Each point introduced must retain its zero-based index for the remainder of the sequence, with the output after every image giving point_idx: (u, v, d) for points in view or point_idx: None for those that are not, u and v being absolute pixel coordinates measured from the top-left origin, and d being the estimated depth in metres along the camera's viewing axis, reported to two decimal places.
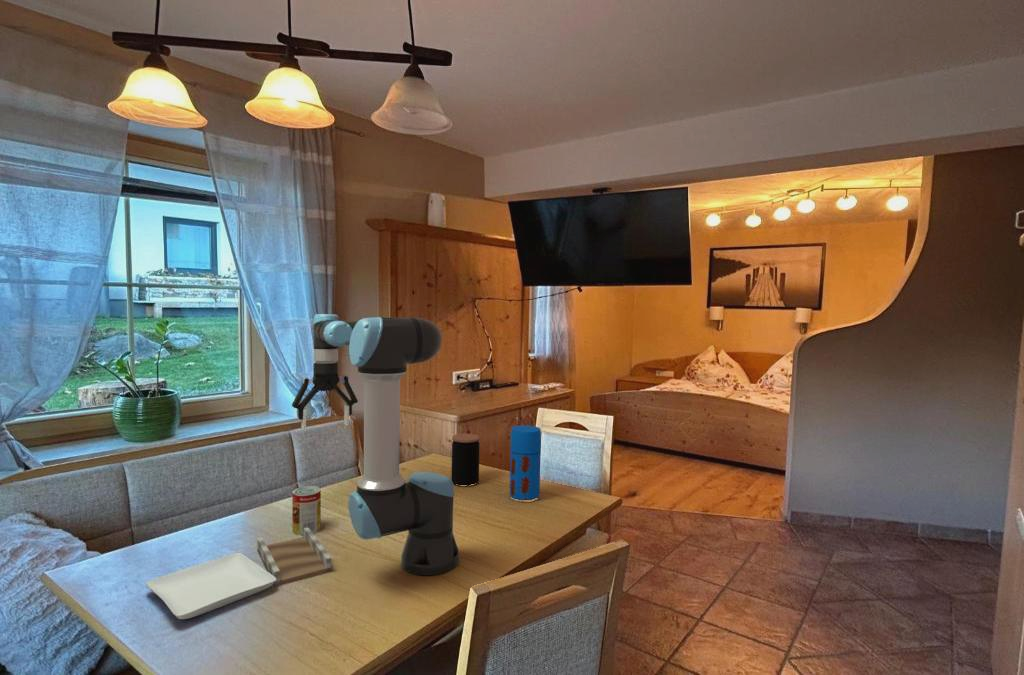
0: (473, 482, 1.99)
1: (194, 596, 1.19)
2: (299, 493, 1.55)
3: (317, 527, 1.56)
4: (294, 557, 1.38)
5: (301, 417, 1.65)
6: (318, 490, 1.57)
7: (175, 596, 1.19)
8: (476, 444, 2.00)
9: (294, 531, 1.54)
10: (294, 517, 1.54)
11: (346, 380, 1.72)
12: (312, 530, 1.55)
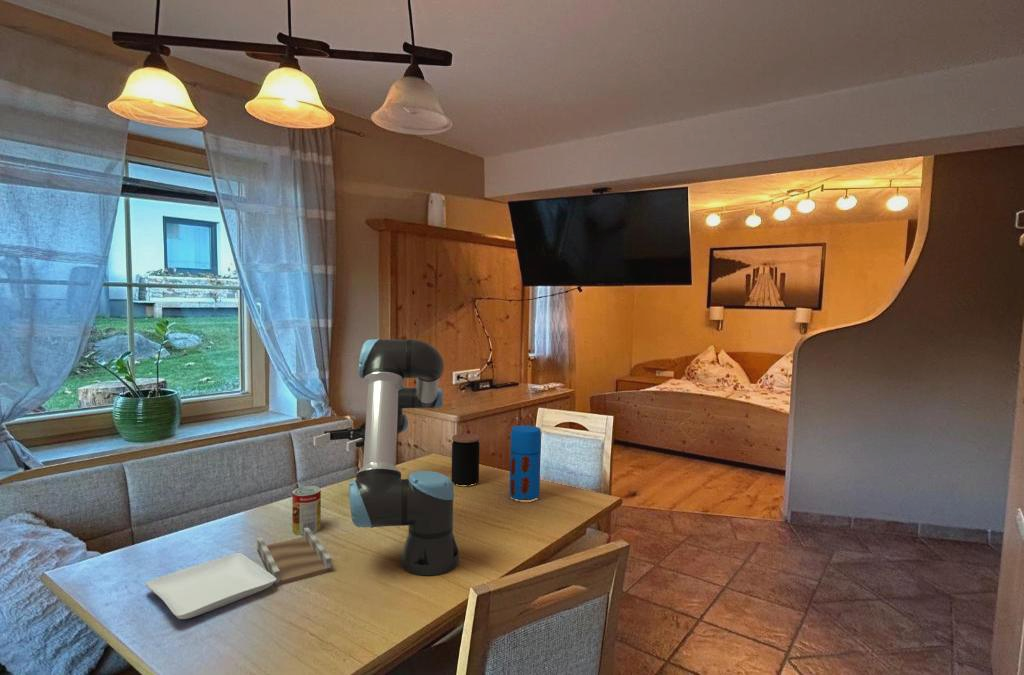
0: (473, 482, 1.99)
1: (194, 596, 1.19)
2: (299, 493, 1.55)
3: (317, 527, 1.56)
4: (294, 557, 1.38)
5: None
6: (318, 490, 1.57)
7: (175, 596, 1.19)
8: (476, 444, 2.00)
9: (294, 531, 1.54)
10: (294, 517, 1.54)
11: None
12: (312, 530, 1.55)
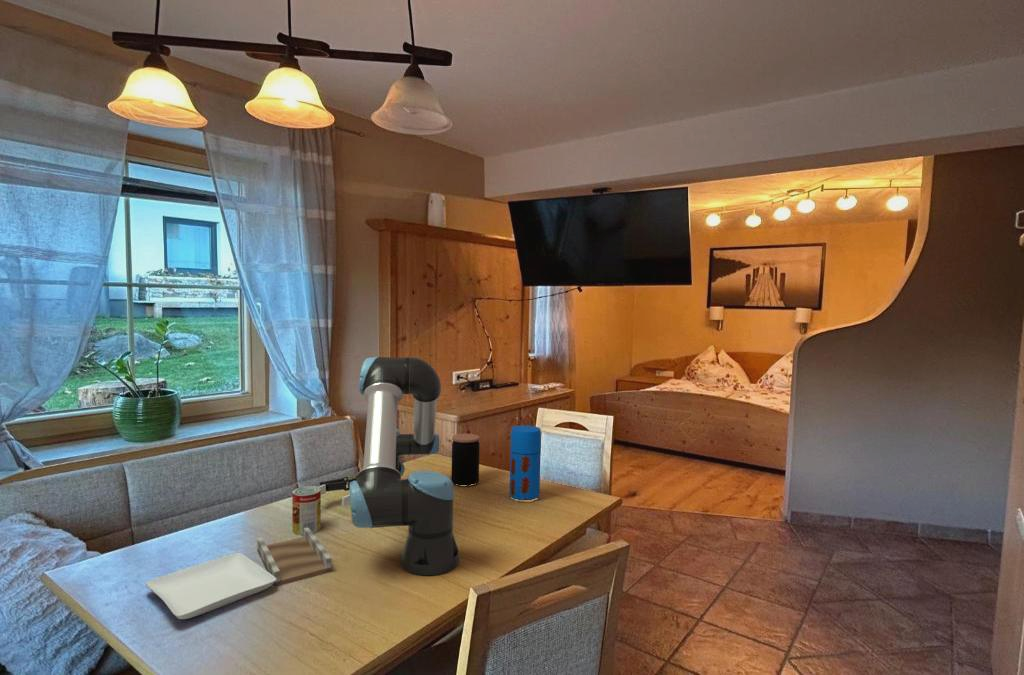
0: (473, 482, 1.99)
1: (194, 596, 1.19)
2: (299, 493, 1.55)
3: (317, 527, 1.56)
4: (294, 557, 1.38)
5: None
6: (318, 490, 1.57)
7: (175, 596, 1.19)
8: (476, 444, 2.00)
9: (294, 531, 1.54)
10: (294, 517, 1.54)
11: None
12: (312, 530, 1.55)
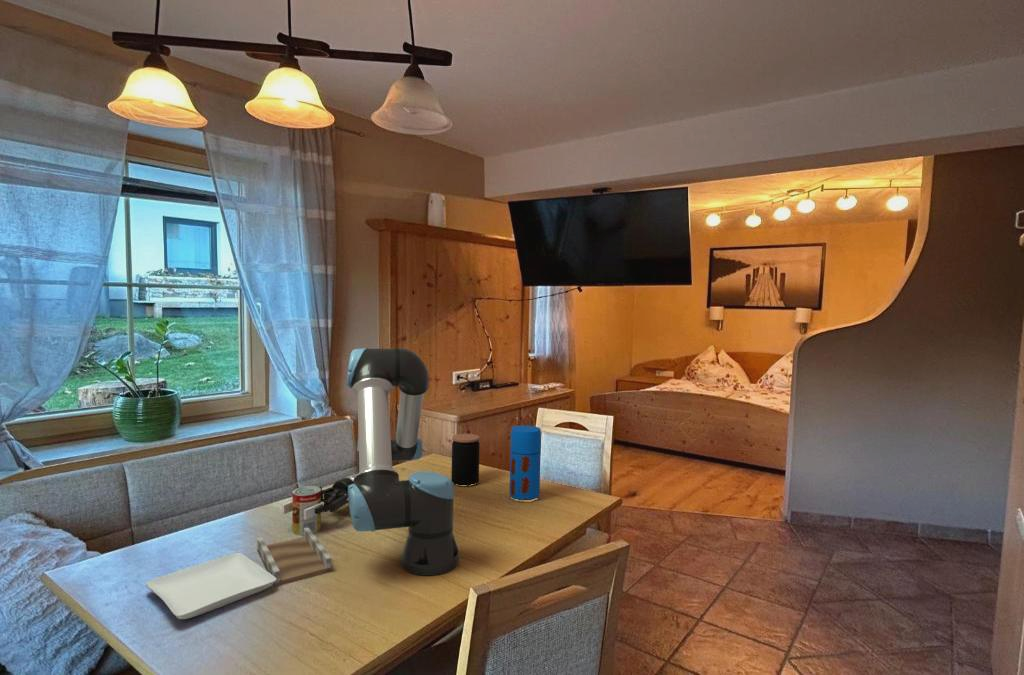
0: (473, 482, 1.99)
1: (194, 596, 1.19)
2: (299, 493, 1.55)
3: (317, 527, 1.56)
4: (294, 557, 1.38)
5: None
6: (318, 490, 1.57)
7: (175, 596, 1.19)
8: (476, 444, 2.00)
9: (294, 531, 1.54)
10: (294, 517, 1.54)
11: (347, 494, 1.64)
12: (312, 530, 1.55)
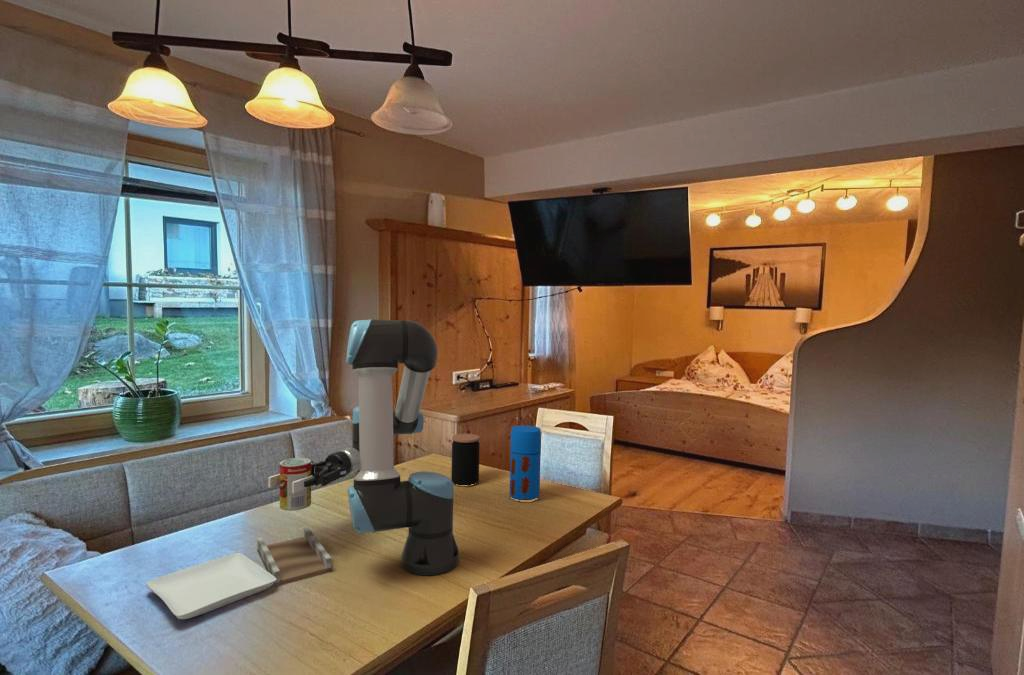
0: (473, 482, 1.99)
1: (194, 596, 1.19)
2: (287, 464, 1.40)
3: (307, 502, 1.41)
4: (294, 557, 1.38)
5: None
6: (308, 462, 1.42)
7: (175, 596, 1.19)
8: (476, 444, 2.00)
9: (281, 506, 1.39)
10: (281, 491, 1.39)
11: (341, 468, 1.49)
12: (301, 505, 1.39)
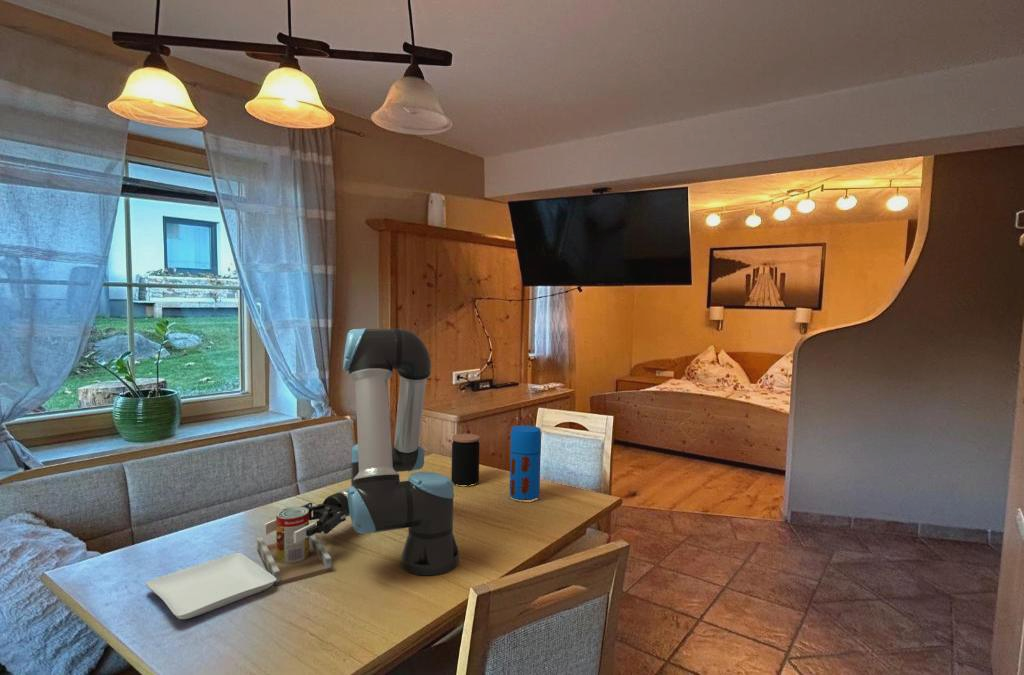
0: (473, 482, 1.99)
1: (194, 596, 1.19)
2: (284, 515, 1.36)
3: (305, 554, 1.37)
4: None
5: None
6: (306, 512, 1.38)
7: (175, 596, 1.19)
8: (476, 444, 2.00)
9: (278, 559, 1.35)
10: (278, 543, 1.35)
11: (341, 512, 1.45)
12: (299, 558, 1.35)
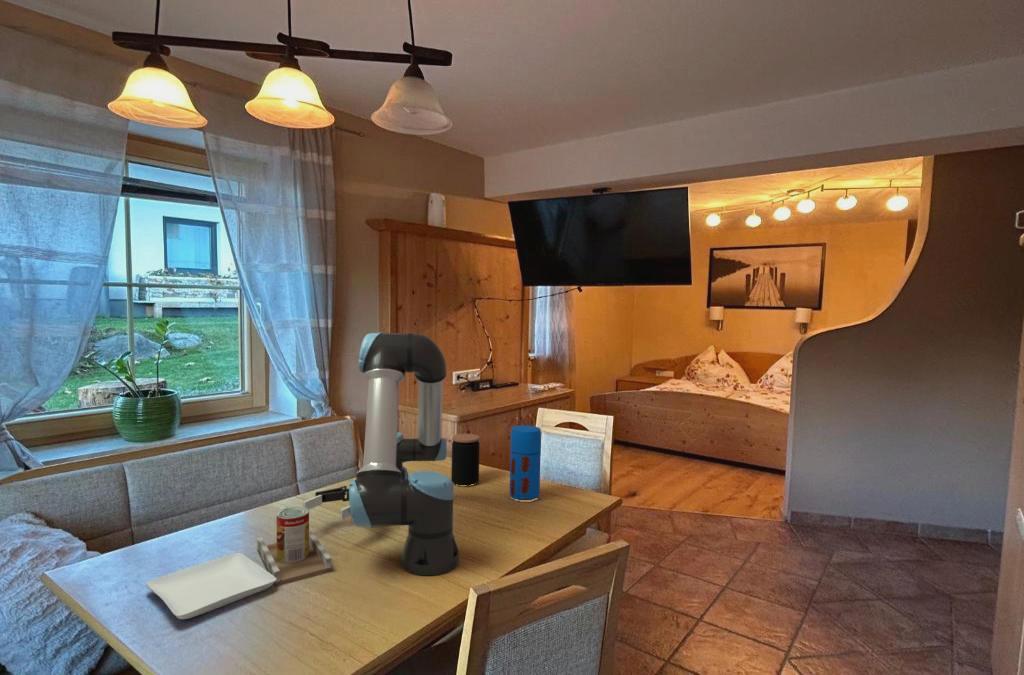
0: (473, 482, 1.99)
1: (194, 596, 1.19)
2: (284, 515, 1.36)
3: (305, 554, 1.37)
4: None
5: None
6: (306, 512, 1.38)
7: (175, 596, 1.19)
8: (476, 444, 2.00)
9: (278, 559, 1.35)
10: (278, 543, 1.35)
11: None
12: (299, 558, 1.35)
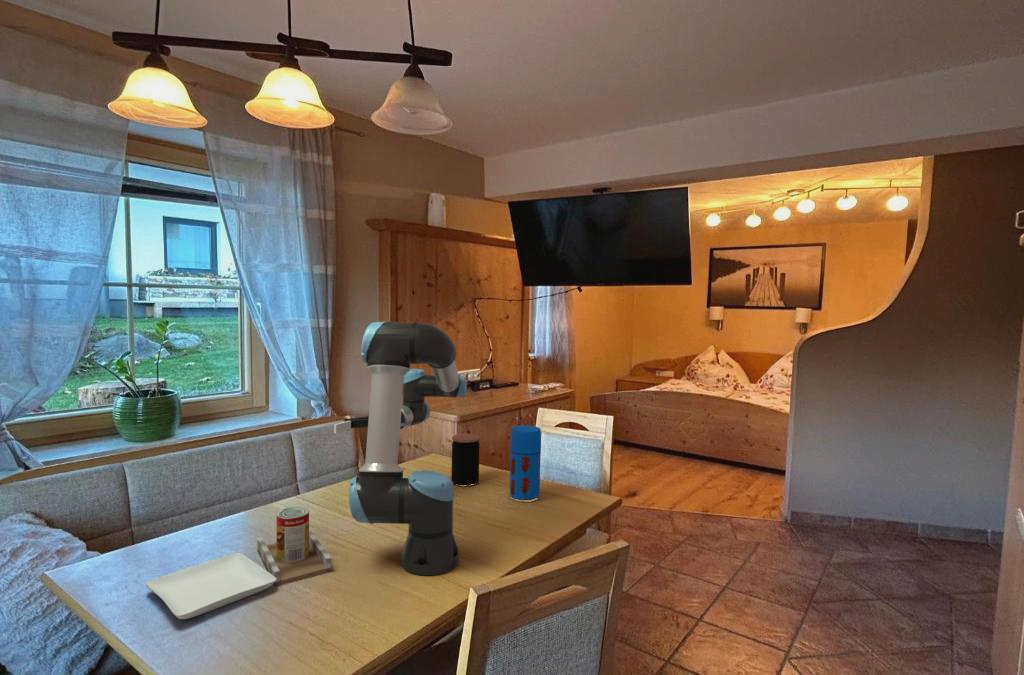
0: (473, 482, 1.99)
1: (194, 596, 1.19)
2: (284, 515, 1.36)
3: (305, 554, 1.37)
4: None
5: None
6: (306, 512, 1.38)
7: (175, 596, 1.19)
8: (476, 444, 2.00)
9: (278, 559, 1.35)
10: (278, 543, 1.35)
11: (400, 420, 1.67)
12: (299, 558, 1.35)
